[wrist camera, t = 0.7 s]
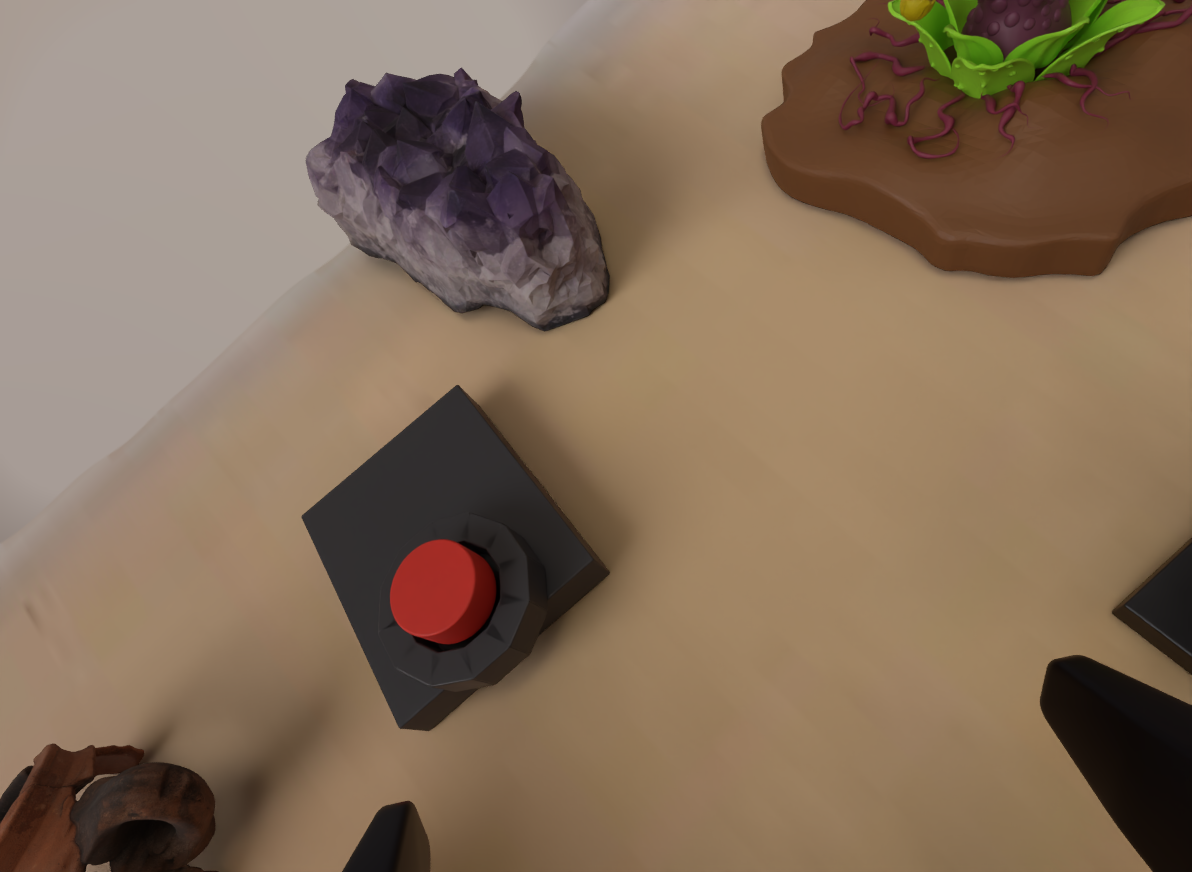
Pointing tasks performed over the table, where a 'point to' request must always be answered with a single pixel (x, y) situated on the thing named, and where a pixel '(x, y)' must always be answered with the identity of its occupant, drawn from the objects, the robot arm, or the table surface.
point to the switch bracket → (1164, 608)
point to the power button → (443, 592)
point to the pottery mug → (104, 814)
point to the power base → (462, 514)
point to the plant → (994, 127)
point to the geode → (460, 198)
